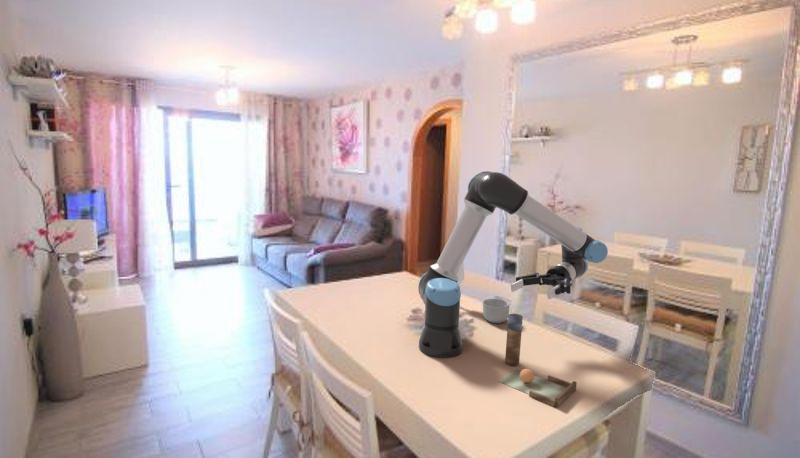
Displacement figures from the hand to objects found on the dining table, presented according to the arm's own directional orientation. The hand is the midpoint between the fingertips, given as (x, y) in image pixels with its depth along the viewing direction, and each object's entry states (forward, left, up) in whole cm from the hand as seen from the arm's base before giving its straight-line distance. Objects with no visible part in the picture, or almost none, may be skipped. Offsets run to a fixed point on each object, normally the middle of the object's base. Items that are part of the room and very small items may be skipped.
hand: (529, 291), depth 139 cm
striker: (-5, -8, -22) cm, 24 cm away
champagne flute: (-23, +45, -22) cm, 55 cm away
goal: (-1, -22, -22) cm, 31 cm away
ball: (-3, -20, -20) cm, 28 cm away
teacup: (-7, +31, -22) cm, 39 cm away
